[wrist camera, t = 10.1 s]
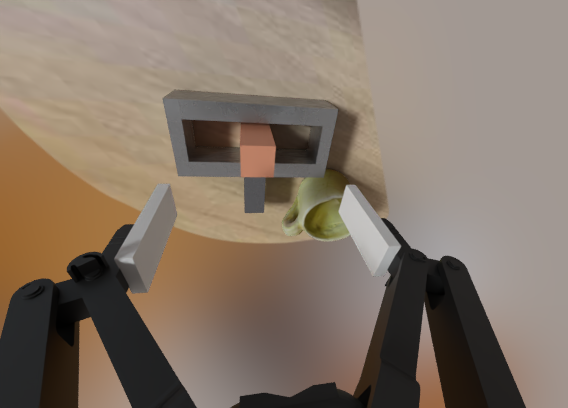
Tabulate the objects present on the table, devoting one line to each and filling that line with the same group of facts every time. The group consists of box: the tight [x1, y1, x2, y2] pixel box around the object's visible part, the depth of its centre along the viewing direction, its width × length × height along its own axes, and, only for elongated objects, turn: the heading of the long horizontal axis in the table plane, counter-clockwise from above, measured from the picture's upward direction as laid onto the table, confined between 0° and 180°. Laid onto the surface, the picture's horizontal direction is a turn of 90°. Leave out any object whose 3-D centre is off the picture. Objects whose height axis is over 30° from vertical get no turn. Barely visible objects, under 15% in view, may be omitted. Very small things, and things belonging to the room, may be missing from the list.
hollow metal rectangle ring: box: [163, 90, 338, 213], centre depth 31 cm, size 16×19×5 cm
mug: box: [282, 169, 350, 241], centre depth 36 cm, size 12×10×10 cm
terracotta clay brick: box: [240, 122, 276, 177], centre depth 27 cm, size 4×4×10 cm
